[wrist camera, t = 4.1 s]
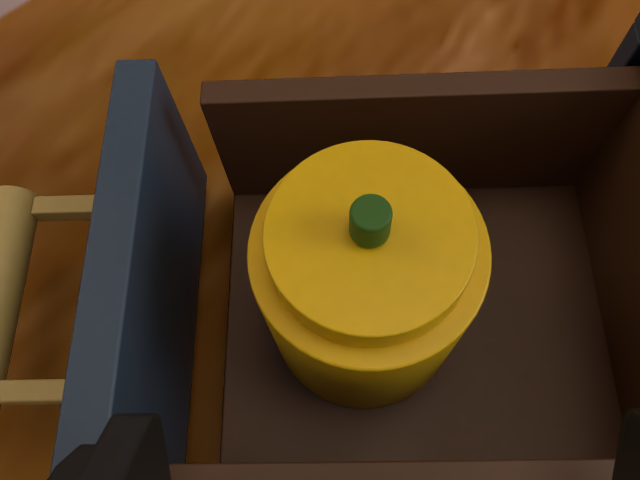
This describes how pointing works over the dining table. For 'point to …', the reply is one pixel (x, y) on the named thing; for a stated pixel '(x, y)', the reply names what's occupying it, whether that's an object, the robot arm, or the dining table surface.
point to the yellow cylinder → (368, 270)
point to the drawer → (248, 321)
